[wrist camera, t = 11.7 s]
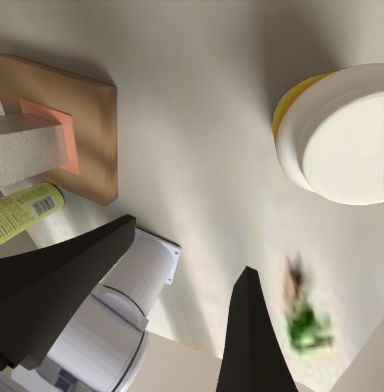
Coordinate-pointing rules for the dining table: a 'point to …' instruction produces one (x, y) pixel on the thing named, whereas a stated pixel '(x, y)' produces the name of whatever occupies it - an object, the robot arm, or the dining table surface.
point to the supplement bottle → (335, 134)
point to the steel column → (29, 146)
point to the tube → (27, 208)
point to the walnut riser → (69, 122)
